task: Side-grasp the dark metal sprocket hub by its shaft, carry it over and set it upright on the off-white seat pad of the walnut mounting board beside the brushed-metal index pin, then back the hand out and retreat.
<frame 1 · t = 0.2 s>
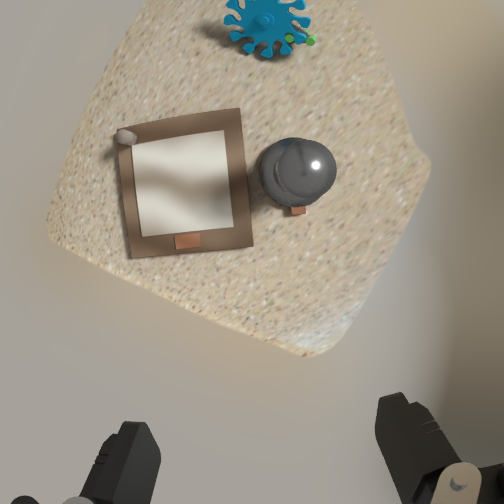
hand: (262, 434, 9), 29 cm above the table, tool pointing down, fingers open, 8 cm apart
mount board: (183, 184, 36), on the table
sprocket hub: (294, 172, 35), on the table
gear: (269, 35, 31), on the table
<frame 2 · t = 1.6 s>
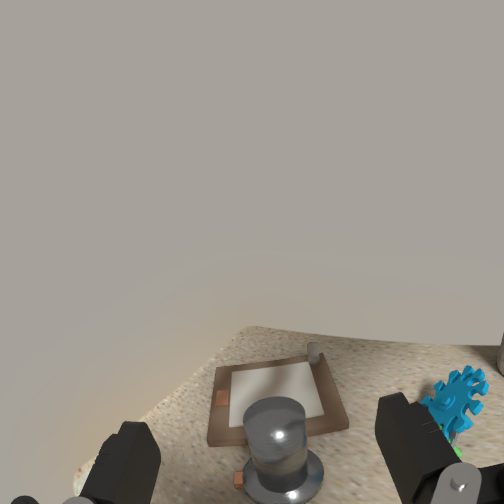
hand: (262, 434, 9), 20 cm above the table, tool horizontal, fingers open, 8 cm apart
mount board: (274, 399, 37), on the table
sprocket hub: (283, 478, 25), on the table
gear: (441, 431, 25), on the table
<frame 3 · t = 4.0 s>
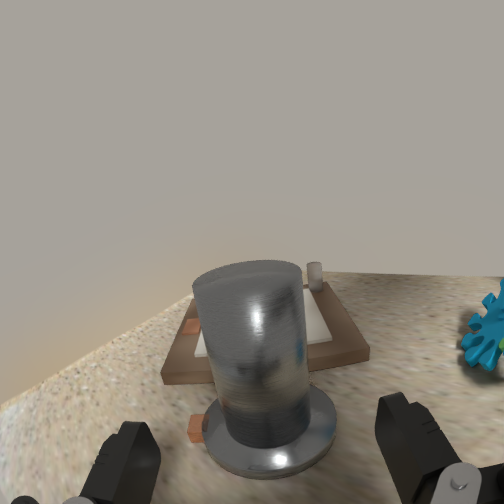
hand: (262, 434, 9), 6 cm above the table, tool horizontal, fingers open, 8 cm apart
mount board: (262, 330, 29), on the table
sprocket hub: (269, 429, 17), on the table
gear: (501, 361, 17), on the table
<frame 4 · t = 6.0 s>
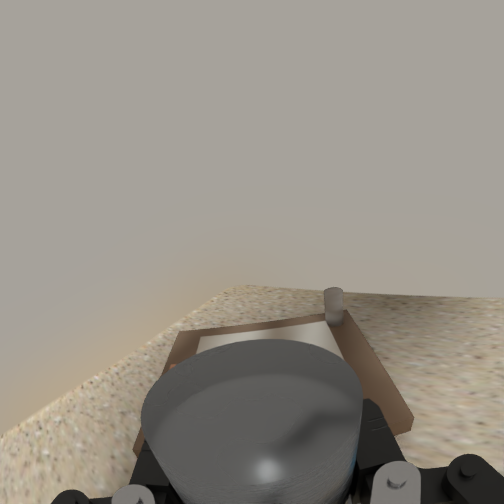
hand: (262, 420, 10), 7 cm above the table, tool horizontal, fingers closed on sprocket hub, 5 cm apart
mount board: (268, 382, 21), on the table
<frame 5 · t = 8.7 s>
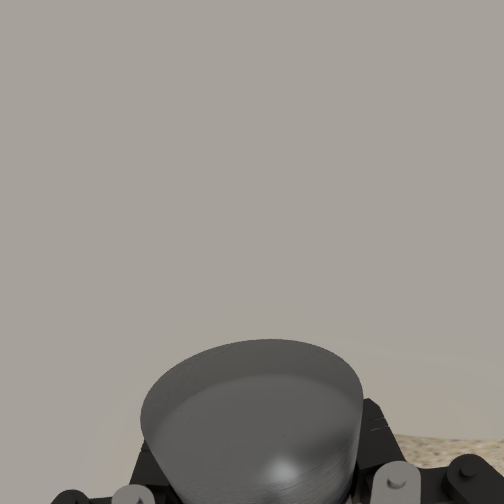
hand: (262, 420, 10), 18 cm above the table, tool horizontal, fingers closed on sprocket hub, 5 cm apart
when the fingers open (9 cm above the table, at t = 11.3 s): sprocket hub drops 1 cm, resting on mount board.
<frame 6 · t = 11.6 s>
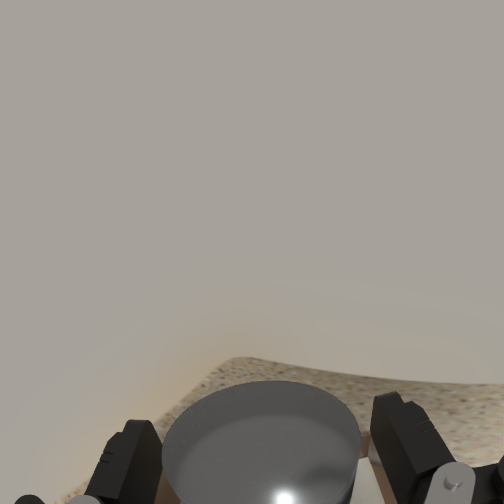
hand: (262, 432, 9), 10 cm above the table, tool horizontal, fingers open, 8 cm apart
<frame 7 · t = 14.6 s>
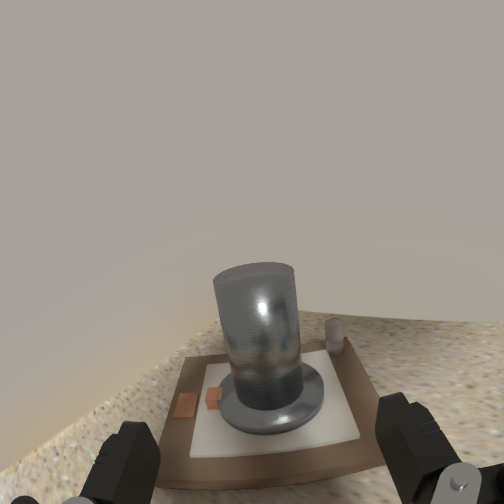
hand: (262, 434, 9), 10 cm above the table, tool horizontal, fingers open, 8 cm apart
mount board: (272, 410, 22), on the table
sprocket hub: (271, 397, 22), point 1 cm above the table, touching mount board
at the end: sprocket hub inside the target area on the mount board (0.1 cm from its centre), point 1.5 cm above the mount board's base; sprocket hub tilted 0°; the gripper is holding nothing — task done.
